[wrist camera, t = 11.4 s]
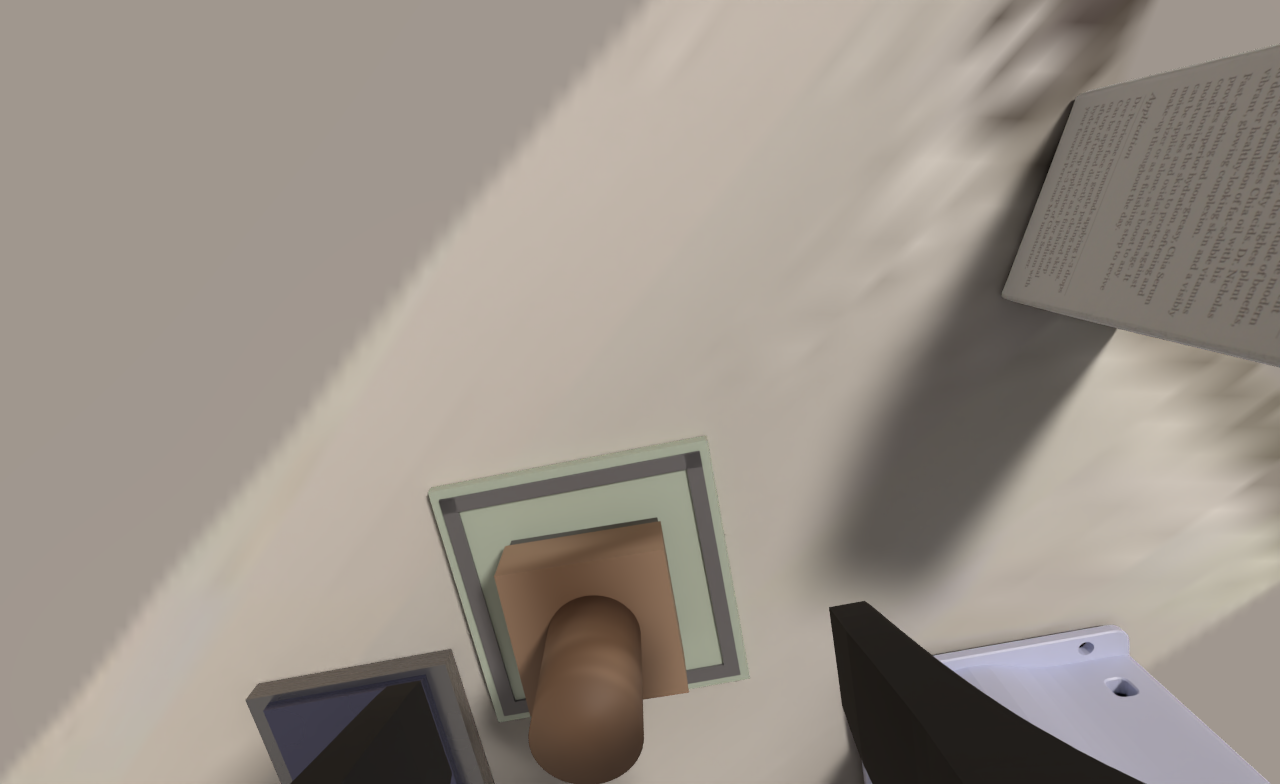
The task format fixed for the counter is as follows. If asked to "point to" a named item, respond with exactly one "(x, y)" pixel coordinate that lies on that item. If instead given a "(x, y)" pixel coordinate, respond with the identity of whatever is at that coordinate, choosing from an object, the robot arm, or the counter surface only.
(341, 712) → the ink pad
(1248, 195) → the skincare box
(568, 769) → the stamp
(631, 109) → the counter surface
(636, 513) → the pale green flat square
